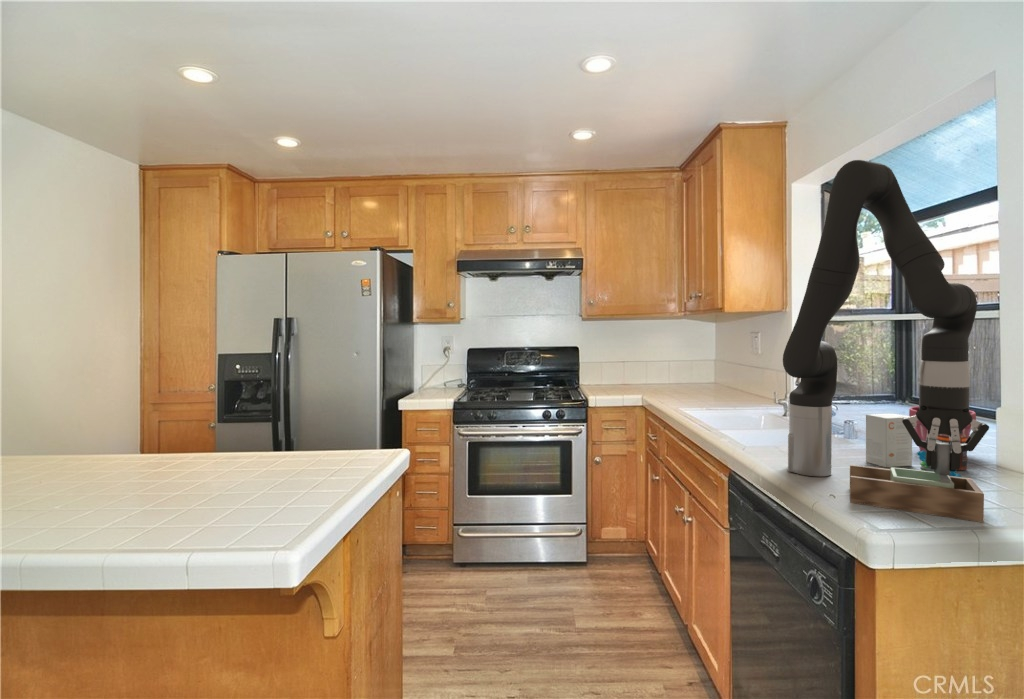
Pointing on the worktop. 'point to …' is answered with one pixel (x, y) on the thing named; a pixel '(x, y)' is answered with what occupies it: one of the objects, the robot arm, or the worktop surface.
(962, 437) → the supplement bottle
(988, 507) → the worktop surface
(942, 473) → the crate
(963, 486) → the bay
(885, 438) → the small box
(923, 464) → the gear
